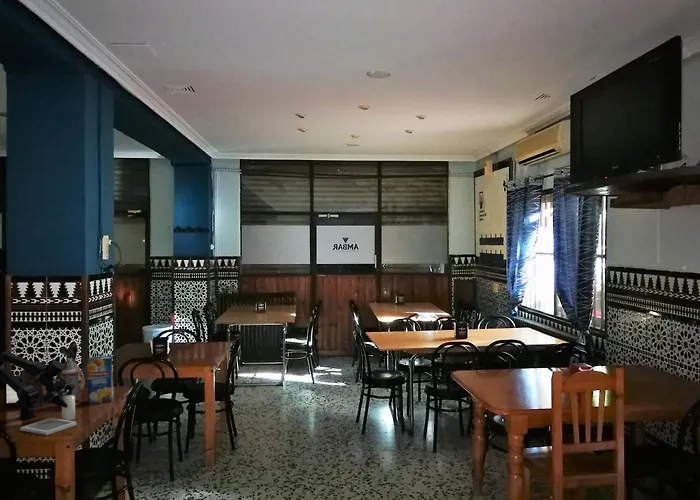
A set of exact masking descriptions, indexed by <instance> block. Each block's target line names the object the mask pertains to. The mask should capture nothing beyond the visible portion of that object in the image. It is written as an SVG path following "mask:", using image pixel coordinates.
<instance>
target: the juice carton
mask: <svg viewBox="0 0 700 500" xmlns="http://www.w3.org/2000/svg"><path fill="white" fill-rule="evenodd" d="M86 361H87V362H86V363H87V365H86V367H87V369H86V371H87V372H86V373H87V397H88V398H87V400H88V403H87V404H89V405H91V404H104V403H103V402H105V403H112V402H113V400H114V374H113V373H114V370H113V355H103V356H89V357H88V358H87V359H86Z"/></svg>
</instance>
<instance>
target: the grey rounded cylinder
mask: <svg viewBox="0 0 700 500" xmlns="http://www.w3.org/2000/svg"><path fill="white" fill-rule="evenodd" d="M61 398H62V399H63V400H64V402H65V403H66V404H67V406H68V407H67V408H65V407H62V406H61V419H62V420H68V421H73V420H75V419H76V405H75V395H66V396H62V397H61Z"/></svg>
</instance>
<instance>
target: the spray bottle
mask: <svg viewBox="0 0 700 500" xmlns="http://www.w3.org/2000/svg"><path fill="white" fill-rule="evenodd" d="M62 375H63V379H64V377H65V376H67V375H69V376H70V377H71V378H72V380H71V383H68V384H66V385H65V387H66V386H67V385H69V384H74V385H75V386H76V387H75V388H74V389H73V390H72V395H75V402H76V403H75V406H78V405H79V404H80V396H79V395H80V394H79V385H78V370H76V369H74V367H73V362H72V358H68V363H67V369H66V370H65V371H63V372H62ZM65 387H64V388H65ZM64 388H63V389H64ZM63 396H64V395H63Z"/></svg>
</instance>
